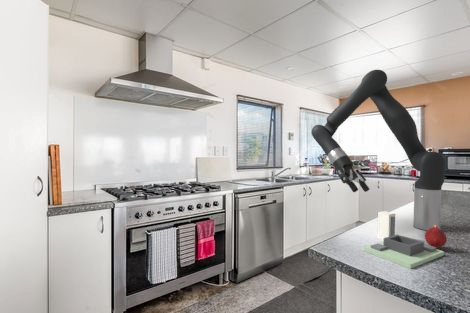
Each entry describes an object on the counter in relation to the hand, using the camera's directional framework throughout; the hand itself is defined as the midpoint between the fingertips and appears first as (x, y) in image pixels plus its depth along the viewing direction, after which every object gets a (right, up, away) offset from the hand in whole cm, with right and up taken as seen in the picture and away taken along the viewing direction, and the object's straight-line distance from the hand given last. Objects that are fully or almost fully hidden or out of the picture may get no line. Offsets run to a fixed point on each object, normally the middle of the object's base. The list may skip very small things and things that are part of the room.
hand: (361, 190), depth 100 cm
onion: (+16, -18, -17) cm, 29 cm away
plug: (+5, -17, -8) cm, 20 cm away
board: (+3, -17, -21) cm, 27 cm away
